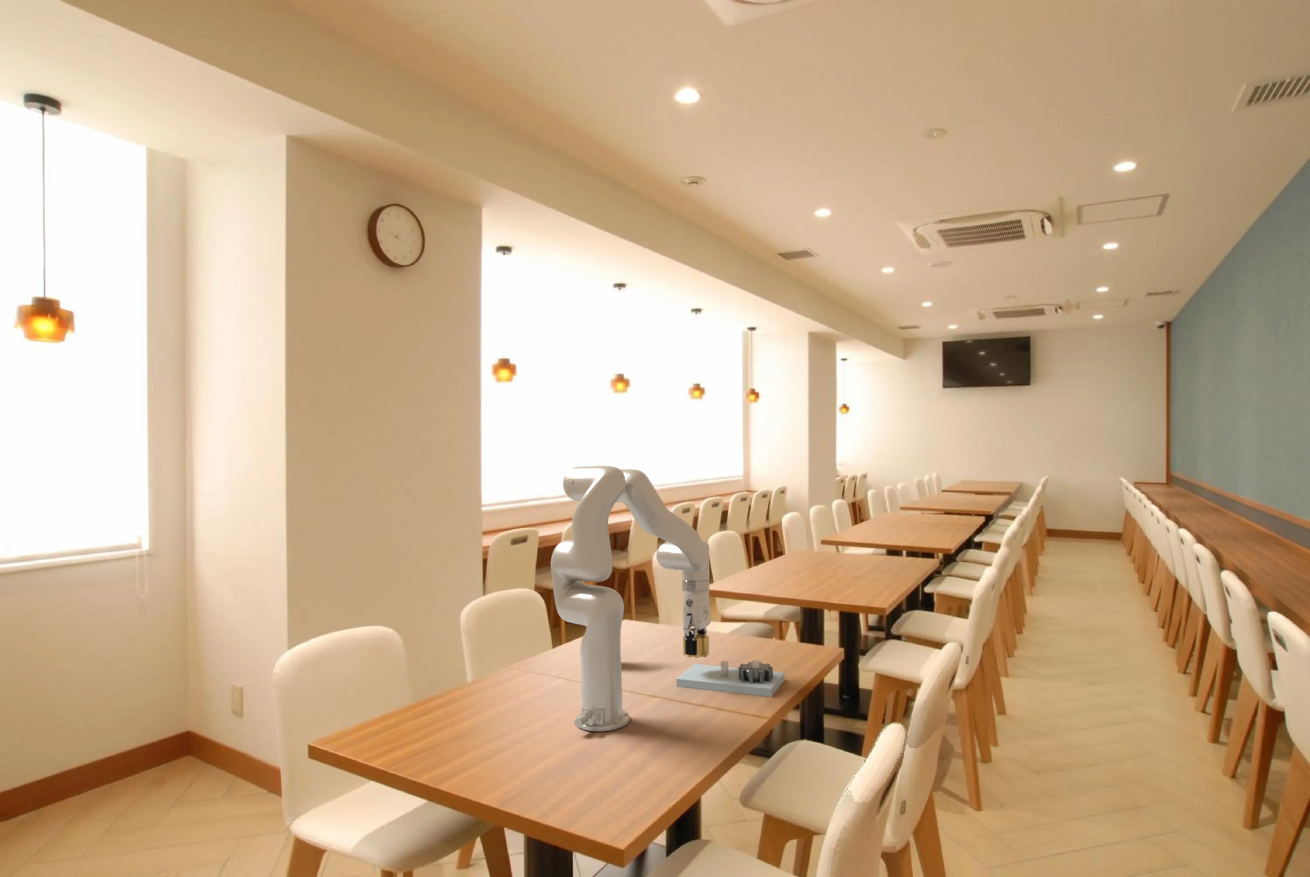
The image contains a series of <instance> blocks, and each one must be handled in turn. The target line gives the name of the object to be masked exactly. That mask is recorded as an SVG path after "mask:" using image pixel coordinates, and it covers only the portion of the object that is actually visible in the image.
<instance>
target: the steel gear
mask: <svg viewBox="0 0 1310 877" xmlns="http://www.w3.org/2000/svg"><path fill="white" fill-rule="evenodd" d="M737 668H738V670H739V679H741V681H742V682H745V681H748V682H749V683H751V684H753V683H754V682H759V683H760V684H762V683H764V682H765V681H767V682H770V681H771V679H773V672H774V668H773V666H771V665H770V663H762V661H759V668H752V664H751V661H748V662H747V663H741V664H740V665H738V667H737Z"/></svg>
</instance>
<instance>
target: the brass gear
mask: <svg viewBox="0 0 1310 877" xmlns="http://www.w3.org/2000/svg"><path fill="white" fill-rule="evenodd" d="M682 639H683V641H682V643H683V645H682V648H683V651H682V654H683V656H685V657H686V658H690V657H691V658H694V659H699V658H701V657H702V658H708V657H707V656H709V655H710V636H709V635H707V636H706V635H705V634H702V635H699V634H698V633H697V634H696V640H697V655H686V654H685V635H683V636H682Z"/></svg>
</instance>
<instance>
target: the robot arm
mask: <svg viewBox="0 0 1310 877" xmlns="http://www.w3.org/2000/svg"><path fill="white" fill-rule="evenodd" d="M562 486H563V490H564V493H565V495H567V496H568V498H569V499H571V500H573V501H575V502H579V503H578V504H577V506H576V507H575V510H574V512H573V514H572V520H571V529H572V530H571V532H572V539H564V540H562V541H561V542H559V543H558V544H557V545H556V546H555V548H554V549H553V552H552V555H551V559H550V573H551V580H552V588H553V589H552V590H553V596H554V605H555V609H556V611H557V614H558V616H559V617H560V618H561V619H562V620H563V621H565V622H567V623H572V624H574V625H575V624H576V625H581V626H585V627H586V630H585V632H584V634H583V636H582V639H581V642H580V647H579V648H580V649H579V650H580V651H579V655H580V656H579V657H580V682H581V683H580V684H581V687H580V688H581V712H580V713H578V714H577V716H576V717H575V720H574V726H576V728H579V729H581V730H584V731H590V732H609V731H614V730H618V729H621V728H623V727H625V726H626V725H627V724H629V723H630V719H631V718H630V714H629V712H627V711H626V710H625V709H624V707H623V681H622V680H623V678H622V677H623V676H622V672H623V671H622V650H621V649H622V648H621V644H622V642H621V637H622V635H621V634H622V624H623V618H624V611H625V605H624V604H625V603H624V599H623V598H622V595H621V594H620V593H619V592H618V591H617V590H615V589H614V588H611V587H607V586H602V585H595V584H587V583H586V582H590V583H601V582H605V581H606V580H607V579H609V578H610V576H611V574H612V571H613V556H612V549H611V547H612V546H611V541H610V538H611V537H610V531H609V519H610V514H611V512H612V510H613V507H614V505H615V503H618V504H619V503H622V504H624V506H626V508H627V509H628V511H629V513H630V514H631V515H632V517H633V519H634V520H635V521H636V523H637V525H638V526H639V527H640V529H641V530H642V531H643V532H644V531H645V533H648V534H650V535H651V536H653V537H655V538H659V539H661V540H664V541H666V542H664V543H662V544H660V546H659V547H658V548H657V550H656V554H655V556H656V560H657V563H658V565H660V566H661V567H662V568H664V569H666V570H672V571H681V585H682V586H681V591H682V592H683V593H684V594H683V601H682V602H683V604H682V625H683V626H682V627H683V629H682V630H683V633H684V636H685V654H686V655H697V640H696V634H699V635H702V634H705V635H706V636H708V635H707V633H708V631H707V627H709V625H710V624H711V601H710V593H709V592H710V546H709V543H708V542H707V541H705V540H702V538H701V536H700V535H699V533H698V532H697V531H696V530H695V529H694V528H693V527H692V526H691V525H690V524H689V523H687V522H686V521H684V520H683V519H682V518H680V516H678V515H677V514H676V513H673V512H672V511H671V510H670V509H668V507H667V506H666V505H665V502H664V501H663V500H662V498H661V496H660V495H659V493H658V491H657V490H656V488H655V487H654V485H653V484H652V482H651V480H650V478H649V477H648V476H647V474H646V473H645V472H643V471H641V470H639V469H629V468H628V469H621V468H619V467H615V466H613V465H612V466H610V465H595V466H594V465H593V466H591V465H589V466H587V465H585V466H574V467H572V468H570V469H568V471H567V472H566V473H565V475H564V477H563V482H562ZM686 655H685V656H686Z"/></svg>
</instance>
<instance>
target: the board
mask: <svg viewBox="0 0 1310 877" xmlns="http://www.w3.org/2000/svg"><path fill="white" fill-rule="evenodd" d="M750 662H751V664H752V668H759V662H760V661H759V660H757V659H753V660H751V661H750ZM784 681H785V672H782V671H781V672H780V671H773V679H771V681H770V682H767V681H765V682H764V683H762V684H760V683H759V682H754V683H753V684H751V683H749V682H748V681H745V682H742V681H741V679H739V670H738V667H730V666H729V661H727V660H721V661H720V666H718V665H709V664H708V665H707V664H699V663H694V664H693V665H691V666H690V667H689V668H688V669H687V670H685V671H684V672H683V673H682V674H680V675H679V676H678V677H676V680H675V682H676V683H675V684H676V687H679V688H680V687H681V688H688V689H696V690H697V689H698V690H707V691H713V692H714V691H716V692H726V693H731V694H732V693H734V694H741V693H742V695H743V694H744V695H750V696H751V695H752V696H760V697H762V696H763V697H769V698H770V697H771V698H772V697H773V696H774V695H775V693H776V692H777V690H778V689H779V688H780V687H781V685H782V684H783V683H784Z"/></svg>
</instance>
